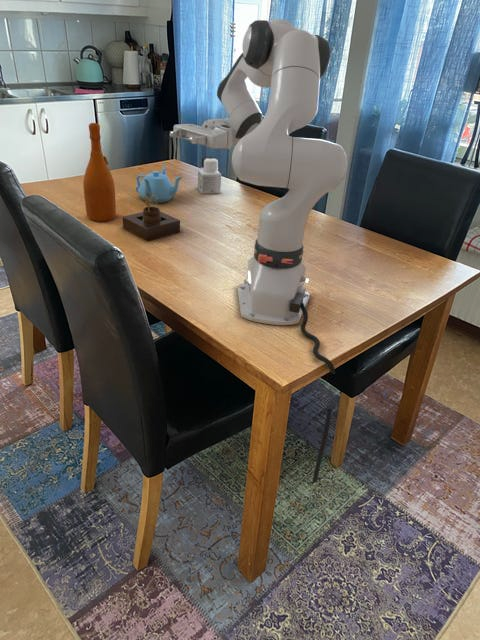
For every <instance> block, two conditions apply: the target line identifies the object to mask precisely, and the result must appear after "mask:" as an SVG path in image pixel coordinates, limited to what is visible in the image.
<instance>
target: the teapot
mask: <svg viewBox="0 0 480 640" xmlns="http://www.w3.org/2000/svg"><path fill="white" fill-rule="evenodd" d="M161 168H162V169H161V172H160V171H159V170H153V171H152V173H147V174H146V175H145V174H143V173H142V174H138V175H137V177H136V184H137V186H135V191H136V192H137V193H138V195H139V197H140V198H141V200H143V201H145V197H147V198H148V197H149V199H150V203H152V202H153V204H161V203H163V204H164V203H167V202H169V201H171V199H172V198H174V195H175V194H176V193H177V192H178V190H179V184H180V183H179V182H180V180H181V179H183V176H177V177H176V178H175V180H174V185H173V184H172V183H171V181H170V179H169V177H168V176H167V165H163V166H162V167H161ZM140 178H143V179H142V180H141V179H140ZM152 195H154V196H152ZM151 196H152V197H151ZM155 196H156V203H155ZM147 198H146V202H147ZM157 198H158V202H157ZM148 203H149V200H148Z"/></svg>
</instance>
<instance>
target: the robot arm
mask: <svg viewBox="0 0 480 640" xmlns="http://www.w3.org/2000/svg"><path fill="white" fill-rule="evenodd" d="M241 46H242V52H241V54H240V55H239V56H238V57H237V59H236V60H235V62H234V64H233V65H232V66H231V69H230V70H229V72H228V73H227V75H226V76H225V77H224V78H223V79H222V80H221V82H219V84H218V87H217V91H216V97H217V98H218V100H219V101H220V103H221V105H222V106H223V107H224V109H225V111H226V114H227V115H228V117H226V118H211V119H206V120H205V121H203V123H202V125H197V124H193V123H179V124H174V125H173V130H170V131H169V137H170V138H172V139H177V138H178V139H182V140H185V141H189V143H190V144H192V145H202V146H206V147H207V148H208V149H224V150H231V149H232V146H234V148H233V150H232V154H231V166H232V170H233V172H234V174H235V176H236V177H237V179H238V180H239V181H241V182H244V183H247V184H251V185H254V186H258V187H268V188H269V187H271V188H283V189H287V190H288V191H287V192H286V193H285V195H284V196H282V197H280V198H278V199H275V200H272V201H269V203H267V204H266V205H264V207H263V208H262V209H261V210H260V213H259V219H258V229H257V238H256V240H255V244H254V247H253V250H254V251H253V256H252V257H251V258H250V259H248V261H247V270H246V278H245V279H244V282H243V283H240V284H238V286H237V296H238V303H239V311H240V316H241V318H243V319H246V320H248V321H251V322H255V323H260V324H265V325H274V326H293V325H298V324H299V323H300V321H301V319H302V321H301V323H300V324H301V325H300V331H301V333H302V335H303V336H304V337H306V338H308V339H310V340H312V341H313V342H314V346H313V349H312V353H313V355H314V357H315V358H316V359H318V360H319V361H321V362H323V363H324V364H325V365H326V366H327V367H328V369H329V372H330V374H331V375H336V369H335V366H334V364H333V363H332V361H331V360H330V359H328V358H327V357H325V356H324V355H322V354H320V353H319V348H320V343H321V342H320V339H319V338H318V337H317V336H316V335H314V334H312V333H309V332H308V331H307V330H306V326H307V323H308V320H309V314H308V310H307V308H306V307H307V306H308V303H309V301H310V299H311V293H309V292H308V291H306V290H307V288H306V287H305V283H309V278H307V276H306V272H307V266H306V265H305V264H304V263H303V256H304V243H303V240H304V235H305V232H306V226H307V222H308V220H309V219H308V218H309V215H310V214H311V211H312V210H313V208H314V207H315V206H316V204H317V203H318V202H319V200H320V199H322V197H324V196H325V195H327V193H329V192H330V191H332V190H335V189H336V188H337V187H338V186H340V184H342V182H343V180H344V178H345V177H346V174H347V171H348V157H347V154H346V152H345V149H344V148H343V146H341V144H338V143H334V142H332V141H329V140H326V139H325V140H324V139H321V138H308V137H307V138H306V137H294V136H291V134H292V133H293V132H295V131H297V130H300V129H302V128H305V127H306V126H308V125H309V124H310V123H311V122H312V121H314V119H315V118H316V116H317V114H318V110H319V98H320V84H321V80H322V78H323V77H324V76H325V74H326V73H327V70H328V68H329V66H330V63H331V54H332V49H331V45H330V43H329V41H328V40H327V39H326V38H324V37H322V36H321V35H319V34H313V33H311V32H309V31H307V30H304V29H300V28H298V27H295V25H294V24H293V23H292V22H290V21H288V20H286V19H283V18H277V19H274V20H272V21H269V20H265V19H258V20H254V21H253V22H251V23H250V24H249V25H248V27H247V30H246V31H245V34H244V36H243V38H242V45H241ZM247 78H248V80H250V82H251V83H252V84H254V85H255V86H257V87H260V88H263V89H264V88H265V89H269V88H270V89H269V90H270V91H269V98H268V102H267V103H268V104H267V109H266V112H265V115H264V116H263V113H262V111H261V108H260V107H259V105H258V103H257V102H256V99H255V97H254V95H252V92H251V90H250V89H249V86H248V84H247ZM302 317H303V318H302ZM332 413H333V409H331V408H327V409H326V415H325V421H324V426H323V427H324V428H323V433H322V437H321V442H320V445H319V450H318V454H317V458H316V461H315V467H314V472H313V477H312V482H313V483H317V482H318V477H319V473H320V469H321V464H322V460H323V458H324V457H323V456H324V453H325V448H326V444H327V441H328V440H327V439H328V435H329V430H330V425H331V419H332Z"/></svg>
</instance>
